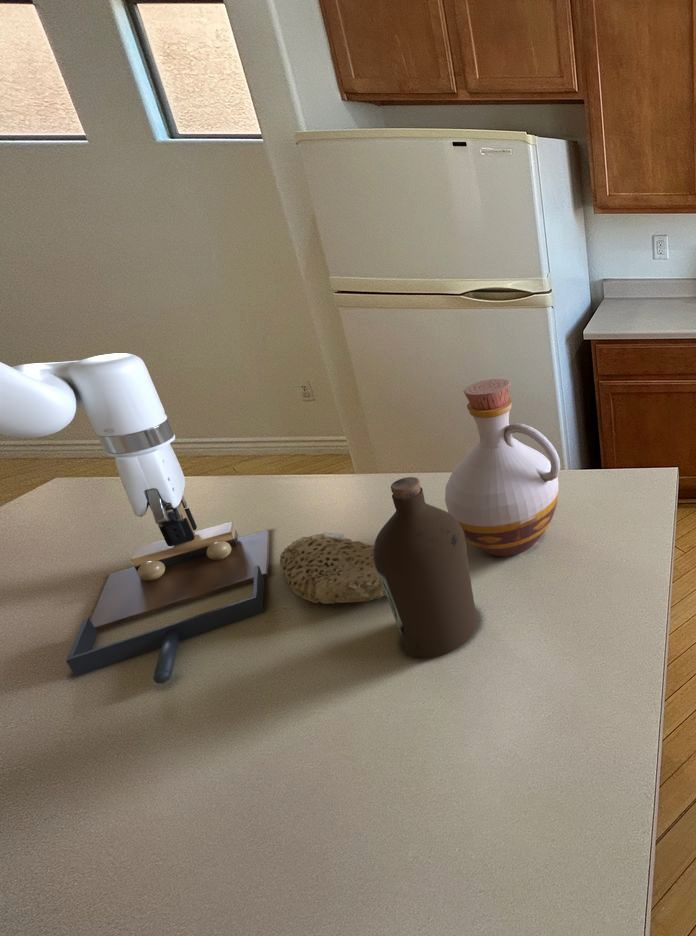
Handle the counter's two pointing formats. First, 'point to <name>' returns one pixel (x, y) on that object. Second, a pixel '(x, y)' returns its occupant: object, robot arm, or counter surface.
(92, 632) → the dustpan
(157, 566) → the ball
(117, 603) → the board
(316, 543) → the sponge
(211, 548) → the ball
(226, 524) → the brush
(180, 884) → the counter surface
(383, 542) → the olive oil
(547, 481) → the jug
